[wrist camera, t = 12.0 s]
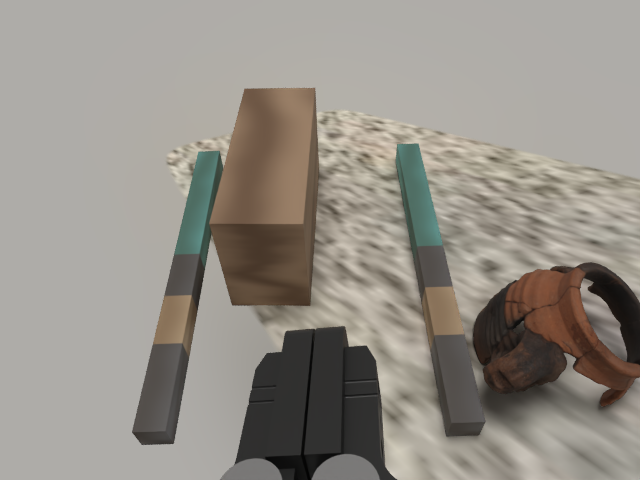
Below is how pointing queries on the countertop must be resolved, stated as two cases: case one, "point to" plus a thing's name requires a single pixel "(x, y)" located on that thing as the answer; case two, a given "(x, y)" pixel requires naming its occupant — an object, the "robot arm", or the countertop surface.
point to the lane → (186, 282)
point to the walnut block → (269, 199)
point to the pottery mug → (557, 331)
